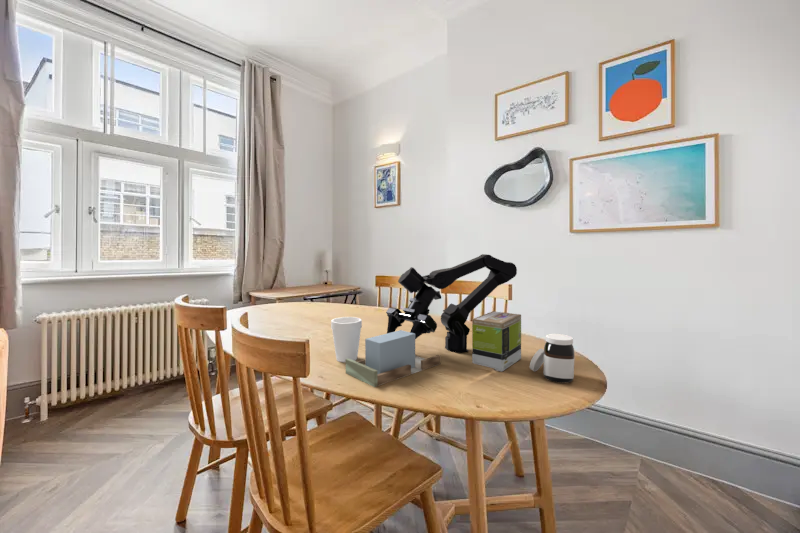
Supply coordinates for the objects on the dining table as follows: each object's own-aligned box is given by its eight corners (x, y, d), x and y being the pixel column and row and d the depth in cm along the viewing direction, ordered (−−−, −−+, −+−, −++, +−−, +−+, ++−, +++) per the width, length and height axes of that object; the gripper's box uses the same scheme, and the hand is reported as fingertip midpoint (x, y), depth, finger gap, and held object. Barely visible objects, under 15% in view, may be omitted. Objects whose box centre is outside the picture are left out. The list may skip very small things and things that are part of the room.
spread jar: (575, 387, 92) (577, 343, 91) (529, 381, 96) (530, 338, 95) (570, 371, 103) (572, 332, 103) (529, 366, 107) (530, 328, 106)
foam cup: (325, 363, 110) (325, 321, 109) (341, 354, 118) (340, 316, 117) (352, 367, 106) (352, 324, 105) (366, 358, 115) (366, 318, 114)
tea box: (492, 353, 120) (493, 310, 119) (521, 359, 114) (523, 314, 113) (470, 365, 108) (471, 317, 107) (502, 372, 102) (503, 322, 101)
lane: (398, 351, 122) (398, 338, 121) (456, 371, 103) (456, 355, 103) (334, 369, 104) (334, 354, 104) (389, 396, 86) (389, 378, 86)
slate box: (400, 362, 109) (400, 330, 108) (415, 367, 105) (415, 333, 104) (365, 374, 99) (365, 338, 98) (379, 380, 95) (379, 343, 94)
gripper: (454, 320, 115) (431, 361, 109) (413, 312, 129) (391, 348, 122) (438, 299, 109) (413, 341, 103) (397, 292, 123) (373, 329, 116)
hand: (397, 340), depth 111 cm, fingers open, 9 cm apart
